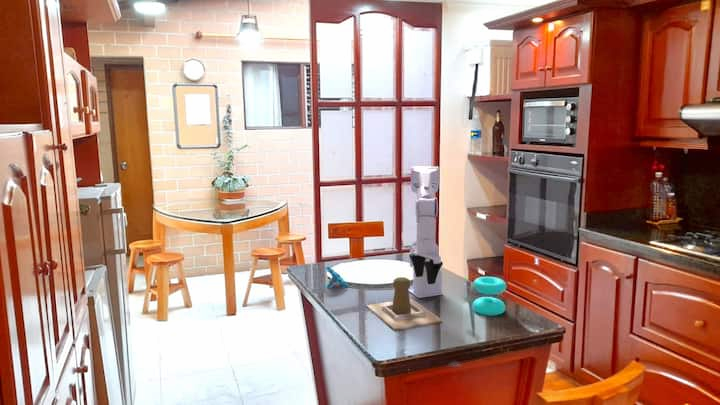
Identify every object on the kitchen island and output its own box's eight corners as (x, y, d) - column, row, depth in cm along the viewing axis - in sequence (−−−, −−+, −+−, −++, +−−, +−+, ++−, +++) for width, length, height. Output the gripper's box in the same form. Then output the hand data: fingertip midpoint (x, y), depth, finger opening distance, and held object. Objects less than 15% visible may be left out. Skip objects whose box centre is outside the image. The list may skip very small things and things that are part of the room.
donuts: (489, 287, 155) (466, 278, 163) (488, 319, 157) (465, 309, 165) (513, 282, 160) (489, 273, 169) (512, 312, 162) (488, 303, 170)
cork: (405, 317, 157) (406, 282, 155) (388, 313, 160) (388, 279, 158) (414, 311, 162) (415, 277, 160) (397, 307, 165) (397, 274, 163)
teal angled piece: (349, 287, 181) (329, 267, 180) (338, 299, 181) (317, 279, 180) (348, 281, 192) (329, 262, 191) (337, 293, 192) (317, 274, 191)
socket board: (410, 299, 173) (411, 294, 173) (442, 321, 155) (442, 316, 155) (366, 306, 167) (366, 301, 167) (394, 330, 149) (394, 324, 149)
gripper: (403, 233, 164) (402, 274, 166) (426, 244, 151) (425, 288, 153) (423, 231, 166) (422, 272, 169) (447, 241, 153) (446, 285, 156)
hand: (425, 280), depth 161 cm, fingers open, 7 cm apart
